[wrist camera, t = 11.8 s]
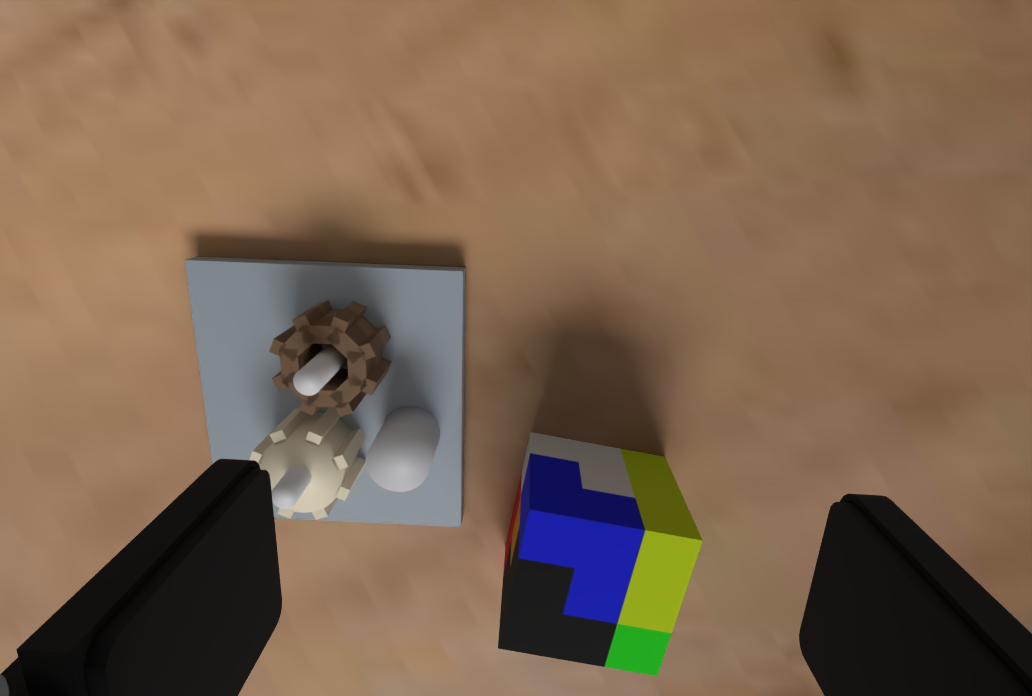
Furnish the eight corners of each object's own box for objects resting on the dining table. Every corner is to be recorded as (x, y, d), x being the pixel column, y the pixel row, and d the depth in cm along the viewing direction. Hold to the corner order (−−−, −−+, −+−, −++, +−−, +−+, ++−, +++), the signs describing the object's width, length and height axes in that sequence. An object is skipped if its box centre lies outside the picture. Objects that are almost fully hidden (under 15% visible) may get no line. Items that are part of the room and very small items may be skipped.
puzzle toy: (530, 431, 42) (529, 509, 33) (664, 456, 42) (702, 540, 33) (505, 546, 45) (498, 648, 36) (631, 568, 45) (657, 675, 36)
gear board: (197, 256, 39) (115, 279, 31) (465, 267, 39) (448, 292, 31) (229, 504, 45) (166, 574, 37) (463, 515, 44) (448, 588, 37)
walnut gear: (292, 298, 38) (265, 313, 34) (390, 302, 38) (374, 318, 34) (299, 390, 40) (275, 414, 36) (392, 394, 40) (378, 418, 36)
